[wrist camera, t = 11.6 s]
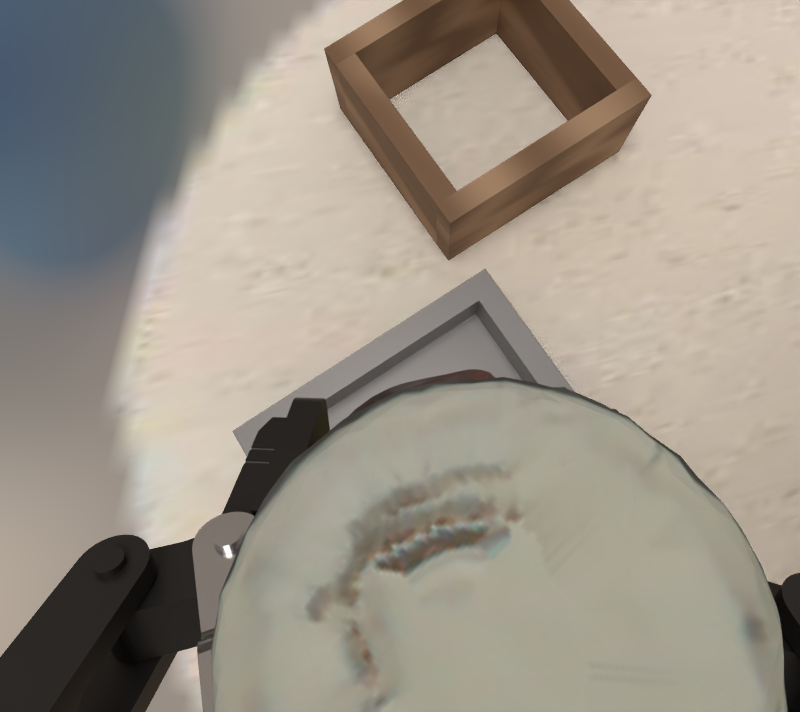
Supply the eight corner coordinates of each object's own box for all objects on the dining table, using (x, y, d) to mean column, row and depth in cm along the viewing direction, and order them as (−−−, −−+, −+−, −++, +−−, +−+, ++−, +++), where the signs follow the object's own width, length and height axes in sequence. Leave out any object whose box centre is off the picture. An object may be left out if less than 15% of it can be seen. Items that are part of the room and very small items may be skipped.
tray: (480, 289, 31) (485, 268, 27) (645, 521, 28) (674, 530, 25) (255, 434, 30) (232, 431, 27) (401, 687, 27) (395, 720, 24)
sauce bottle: (383, 398, 24) (169, 112, 5) (526, 420, 23) (970, 198, 4) (358, 552, 23) (-83, 1053, 3) (507, 578, 22) (1020, 1370, 3)
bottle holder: (501, 9, 34) (511, -66, 29) (618, 151, 32) (651, 95, 27) (340, 108, 34) (324, 48, 29) (448, 260, 31) (450, 223, 26)
